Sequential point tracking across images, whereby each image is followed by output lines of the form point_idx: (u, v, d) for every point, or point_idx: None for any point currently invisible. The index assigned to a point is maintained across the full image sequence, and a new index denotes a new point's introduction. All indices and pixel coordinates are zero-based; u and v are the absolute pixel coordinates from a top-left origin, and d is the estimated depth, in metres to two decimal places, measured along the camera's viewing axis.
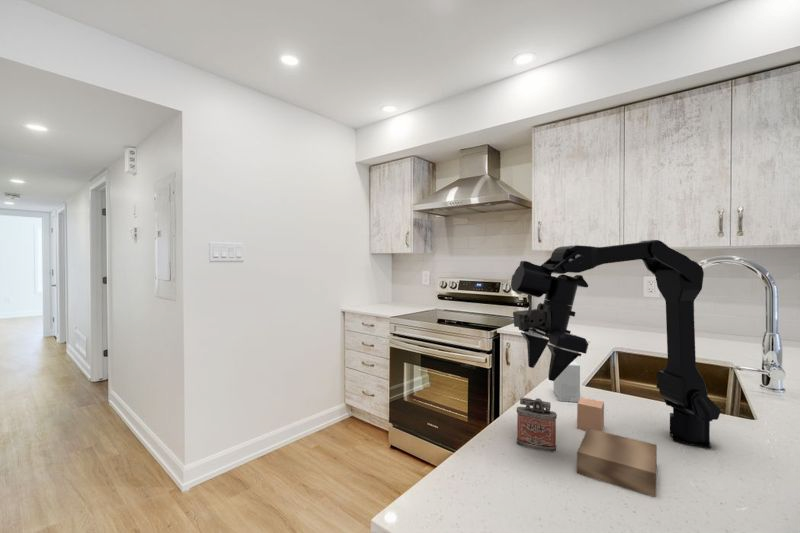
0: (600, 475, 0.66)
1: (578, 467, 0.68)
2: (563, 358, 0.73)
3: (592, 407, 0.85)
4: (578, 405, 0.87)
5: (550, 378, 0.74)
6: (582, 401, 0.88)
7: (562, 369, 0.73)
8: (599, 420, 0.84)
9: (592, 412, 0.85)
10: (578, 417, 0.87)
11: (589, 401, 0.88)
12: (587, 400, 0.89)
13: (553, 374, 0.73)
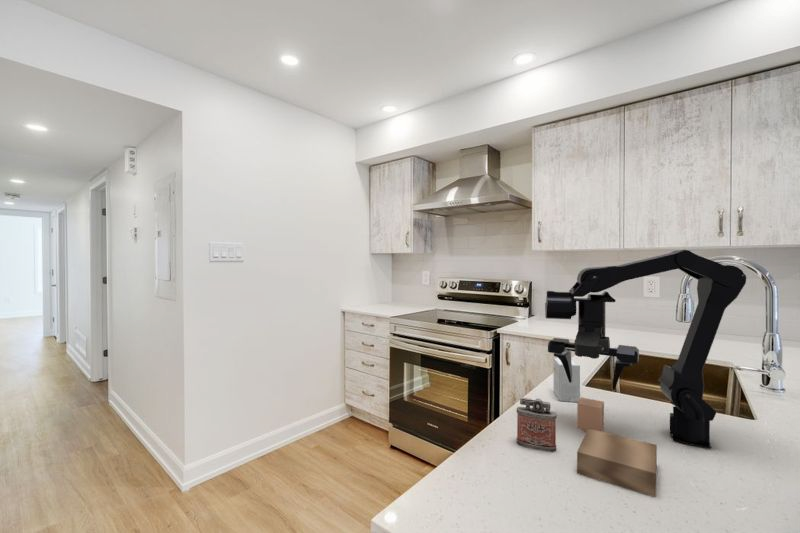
0: (600, 475, 0.66)
1: (578, 467, 0.68)
2: None
3: (592, 407, 0.85)
4: (578, 405, 0.87)
5: None
6: (582, 401, 0.88)
7: None
8: (599, 420, 0.84)
9: (592, 412, 0.85)
10: (578, 417, 0.87)
11: (589, 401, 0.88)
12: (587, 400, 0.89)
13: (616, 384, 0.84)
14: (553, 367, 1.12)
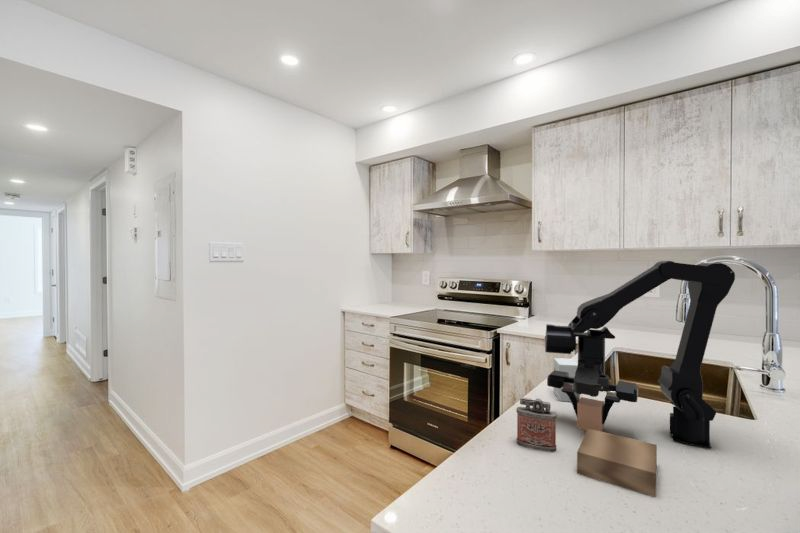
0: (600, 475, 0.66)
1: (578, 467, 0.68)
2: None
3: (592, 407, 0.85)
4: (578, 405, 0.87)
5: (604, 422, 0.86)
6: (582, 401, 0.88)
7: None
8: (599, 420, 0.84)
9: (593, 412, 0.85)
10: (578, 417, 0.87)
11: (589, 401, 0.88)
12: (587, 400, 0.89)
13: None
14: (553, 367, 1.12)
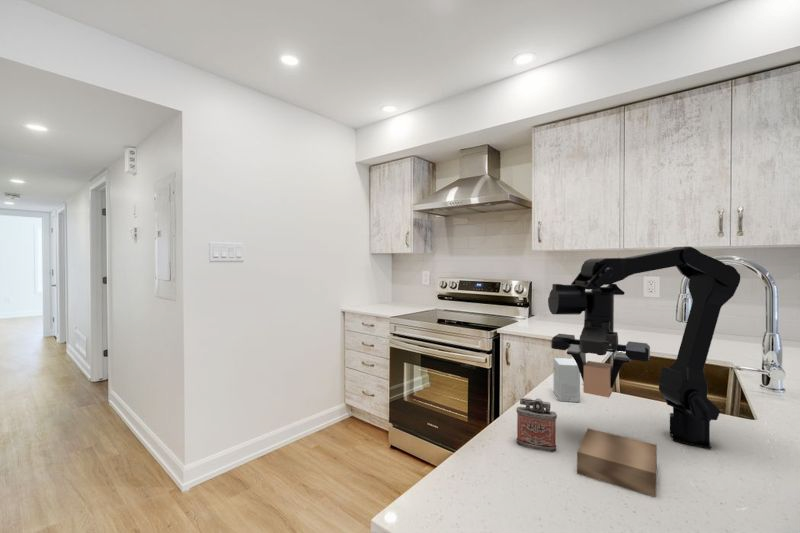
0: (600, 475, 0.66)
1: (578, 467, 0.68)
2: None
3: (600, 369, 0.79)
4: (584, 367, 0.81)
5: None
6: (589, 363, 0.82)
7: None
8: (607, 382, 0.78)
9: (600, 374, 0.79)
10: (584, 380, 0.81)
11: (596, 364, 0.82)
12: (594, 363, 0.83)
13: None
14: (553, 367, 1.12)
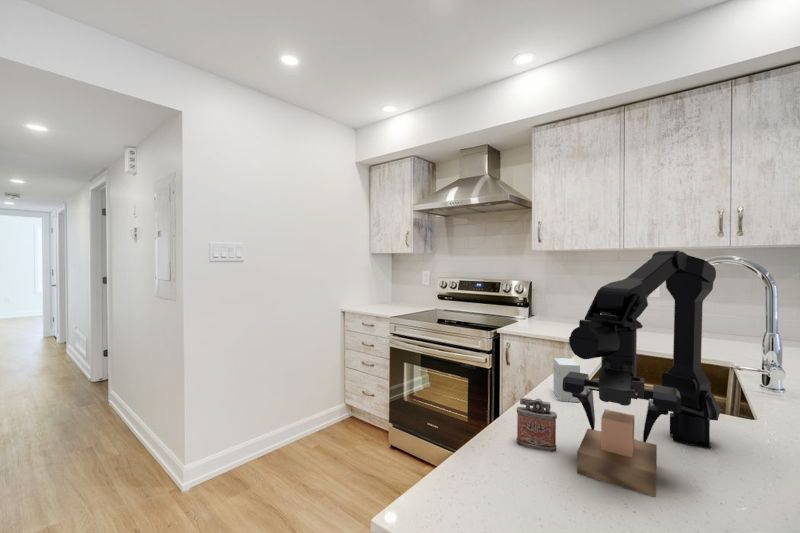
0: (600, 475, 0.66)
1: (578, 467, 0.68)
2: None
3: (621, 423, 0.67)
4: (602, 420, 0.69)
5: (646, 440, 0.67)
6: (607, 414, 0.70)
7: None
8: (630, 440, 0.66)
9: (621, 429, 0.67)
10: (602, 435, 0.69)
11: (615, 415, 0.70)
12: (613, 413, 0.71)
13: (648, 434, 0.67)
14: (553, 367, 1.12)
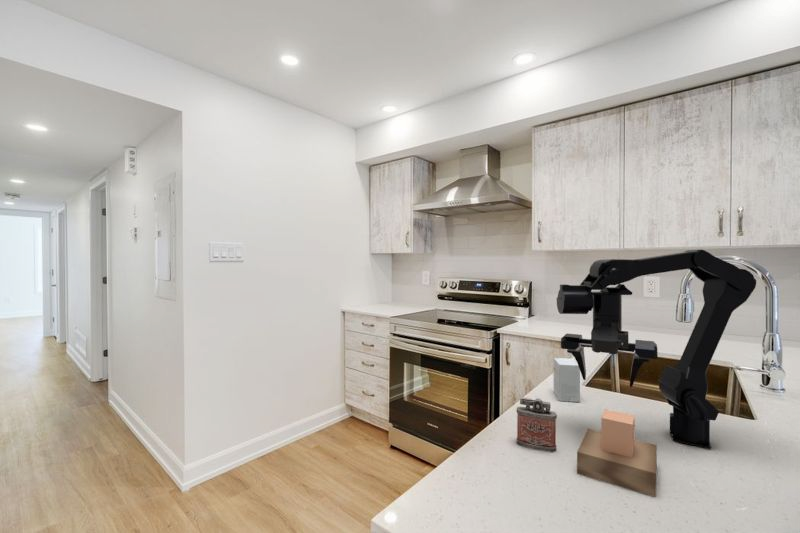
0: (600, 475, 0.66)
1: (578, 467, 0.68)
2: None
3: (621, 423, 0.67)
4: (602, 420, 0.69)
5: (632, 385, 0.81)
6: (607, 414, 0.70)
7: None
8: (630, 440, 0.66)
9: (621, 429, 0.67)
10: (602, 435, 0.69)
11: (615, 415, 0.70)
12: (613, 413, 0.71)
13: (634, 380, 0.81)
14: (553, 367, 1.12)
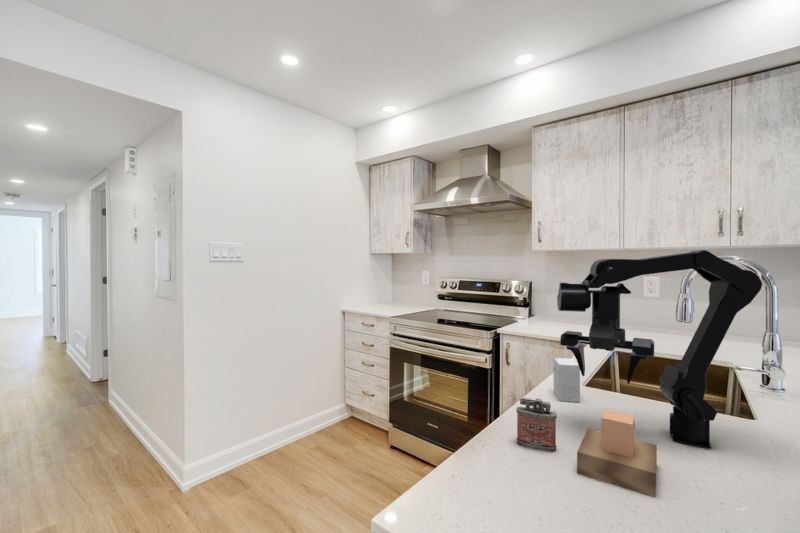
0: (600, 475, 0.66)
1: (578, 467, 0.68)
2: None
3: (621, 423, 0.67)
4: (602, 420, 0.69)
5: (629, 382, 0.83)
6: (607, 414, 0.70)
7: None
8: (630, 440, 0.66)
9: (621, 429, 0.67)
10: (602, 435, 0.69)
11: (615, 415, 0.70)
12: (613, 413, 0.71)
13: (631, 377, 0.83)
14: (553, 367, 1.12)
